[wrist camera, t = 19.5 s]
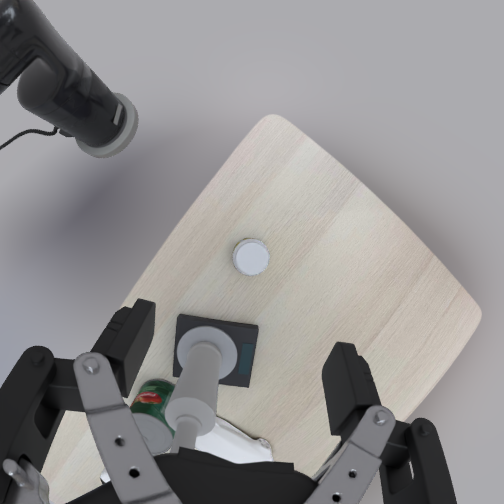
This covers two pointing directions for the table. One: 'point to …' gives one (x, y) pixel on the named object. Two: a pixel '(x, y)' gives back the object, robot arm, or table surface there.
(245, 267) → the supplement bottle
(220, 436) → the toy car
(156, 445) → the canned tomato
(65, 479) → the table surface
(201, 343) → the bottle
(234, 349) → the scale
